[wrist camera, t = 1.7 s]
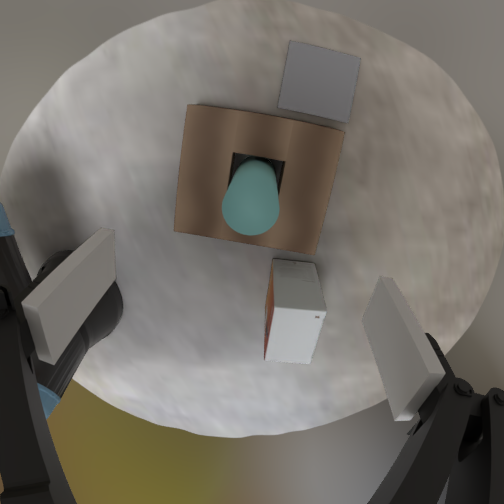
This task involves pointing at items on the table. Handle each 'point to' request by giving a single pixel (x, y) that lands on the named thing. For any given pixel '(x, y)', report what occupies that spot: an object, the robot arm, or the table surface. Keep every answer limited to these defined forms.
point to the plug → (252, 197)
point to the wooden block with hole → (263, 145)
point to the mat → (319, 81)
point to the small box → (293, 312)
